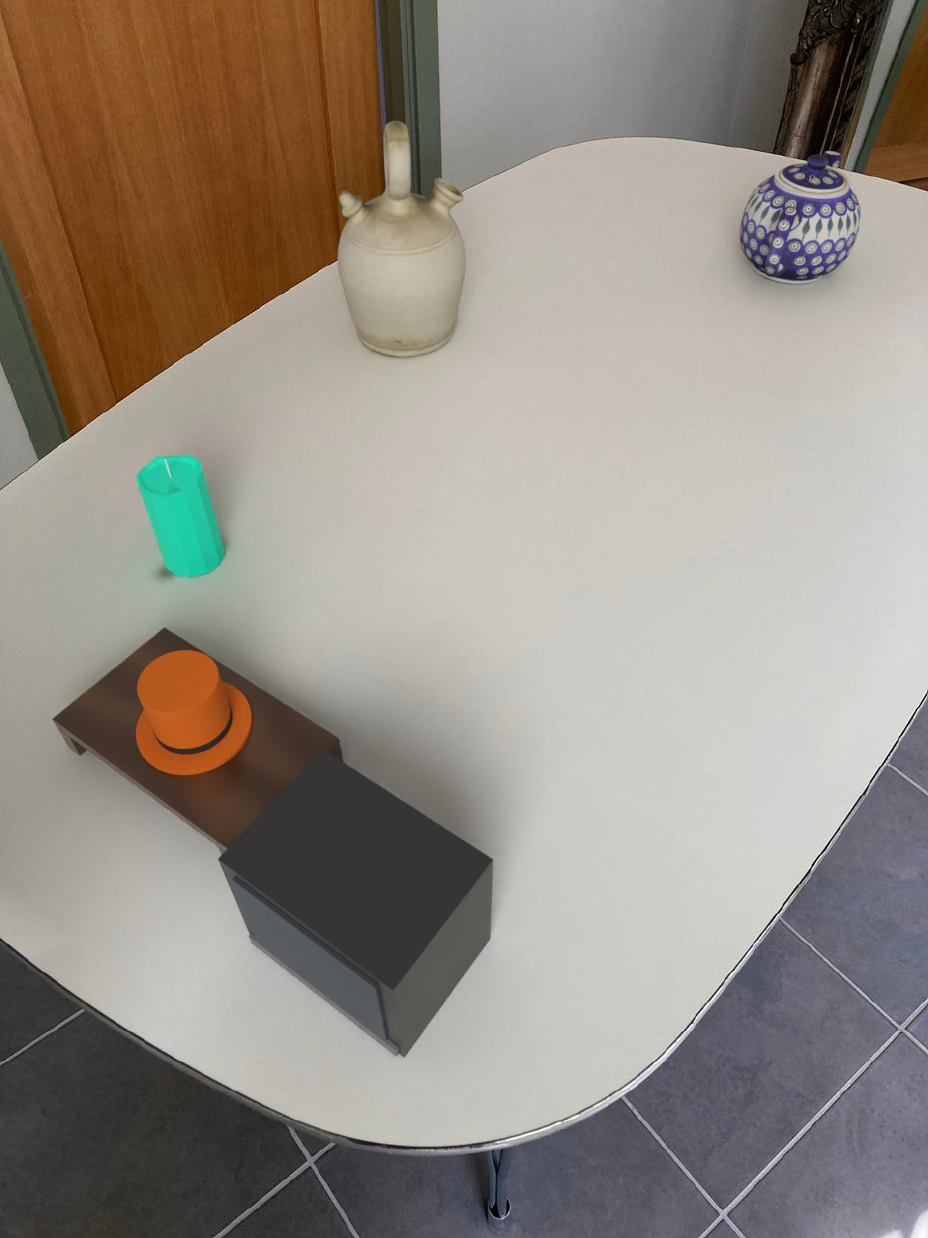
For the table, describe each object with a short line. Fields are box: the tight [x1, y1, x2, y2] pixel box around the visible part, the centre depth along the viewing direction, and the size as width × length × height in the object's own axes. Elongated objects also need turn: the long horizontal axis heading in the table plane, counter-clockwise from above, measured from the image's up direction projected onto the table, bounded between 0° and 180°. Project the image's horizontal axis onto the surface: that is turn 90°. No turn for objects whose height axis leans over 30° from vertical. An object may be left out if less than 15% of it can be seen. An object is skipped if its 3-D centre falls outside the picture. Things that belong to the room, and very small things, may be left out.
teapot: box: [739, 150, 862, 285], centre depth 126 cm, size 25×15×15 cm, turn 148°
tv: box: [217, 750, 494, 1058], centre depth 64 cm, size 10×14×12 cm
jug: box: [337, 120, 467, 358], centre depth 112 cm, size 15×16×25 cm
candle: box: [135, 454, 226, 578], centre depth 90 cm, size 6×6×12 cm
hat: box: [136, 650, 252, 775], centre depth 74 cm, size 9×9×6 cm
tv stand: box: [52, 627, 345, 856], centre depth 77 cm, size 12×20×4 cm, turn 54°
